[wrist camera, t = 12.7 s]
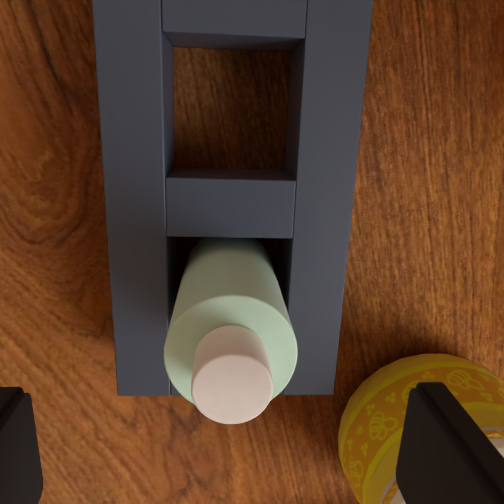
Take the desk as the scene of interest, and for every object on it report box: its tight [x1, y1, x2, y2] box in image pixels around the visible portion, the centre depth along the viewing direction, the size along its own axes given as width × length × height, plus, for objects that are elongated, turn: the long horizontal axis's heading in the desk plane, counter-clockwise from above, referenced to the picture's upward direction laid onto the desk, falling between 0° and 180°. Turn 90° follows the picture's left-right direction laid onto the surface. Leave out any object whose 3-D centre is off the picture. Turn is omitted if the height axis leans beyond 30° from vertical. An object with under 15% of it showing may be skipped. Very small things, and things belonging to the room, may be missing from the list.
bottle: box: [164, 237, 298, 424], centre depth 19 cm, size 5×5×11 cm
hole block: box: [92, 0, 374, 396], centre depth 21 cm, size 11×19×4 cm, turn 178°
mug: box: [338, 354, 504, 504], centre depth 22 cm, size 13×11×12 cm
